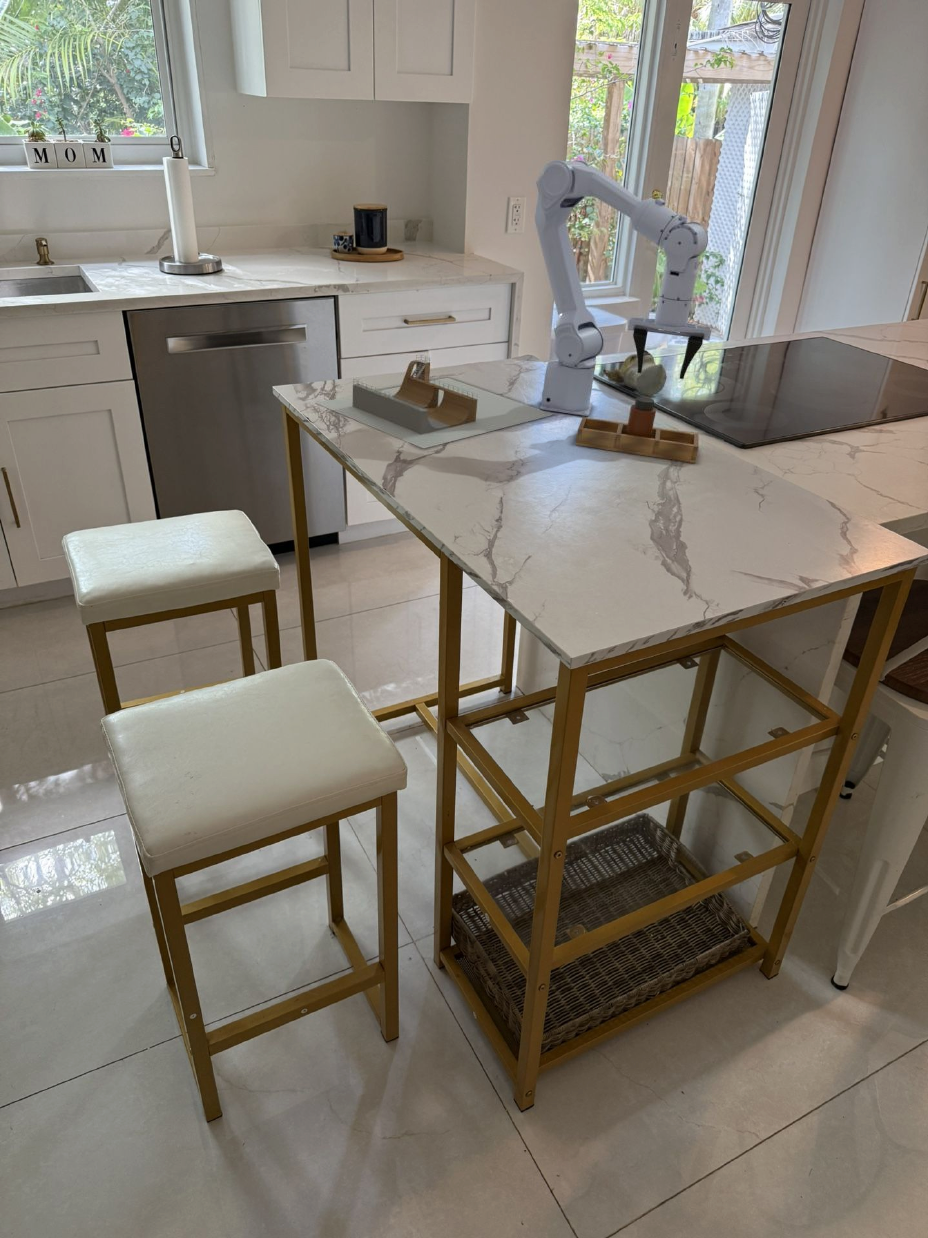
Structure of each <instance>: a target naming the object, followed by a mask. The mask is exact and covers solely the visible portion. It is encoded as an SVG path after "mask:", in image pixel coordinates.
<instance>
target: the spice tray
mask: <svg viewBox="0 0 928 1238" xmlns="http://www.w3.org/2000/svg"><path fill="white" fill-rule="evenodd" d="M627 425H628V422H627V423H626V422H619V421H614V420H607V419H600V418H594V417H588V416H582V417H581V420H580V423H579V426H578V428H577V433H576V439H575V446H579V447H586V448H587V447H588V448H592V449H599V450H606V451H613V452H618V453H625V454H632V455H638V456H639V455H640V456H646V457H652V458H657V459H664V460H665V459H666V460H672V461H677V462H685V463H691V464H696V461H697V458H698V457H697V456H698V452H699V447H700V446H699V445H700V443H699V438H700V437H699V433H696V432H688V431H681V430H675V429H667V428H660V427H654V426H653V429H652V434H651V438H646V437H639V436H632V435H626V431H627Z"/></svg>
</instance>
